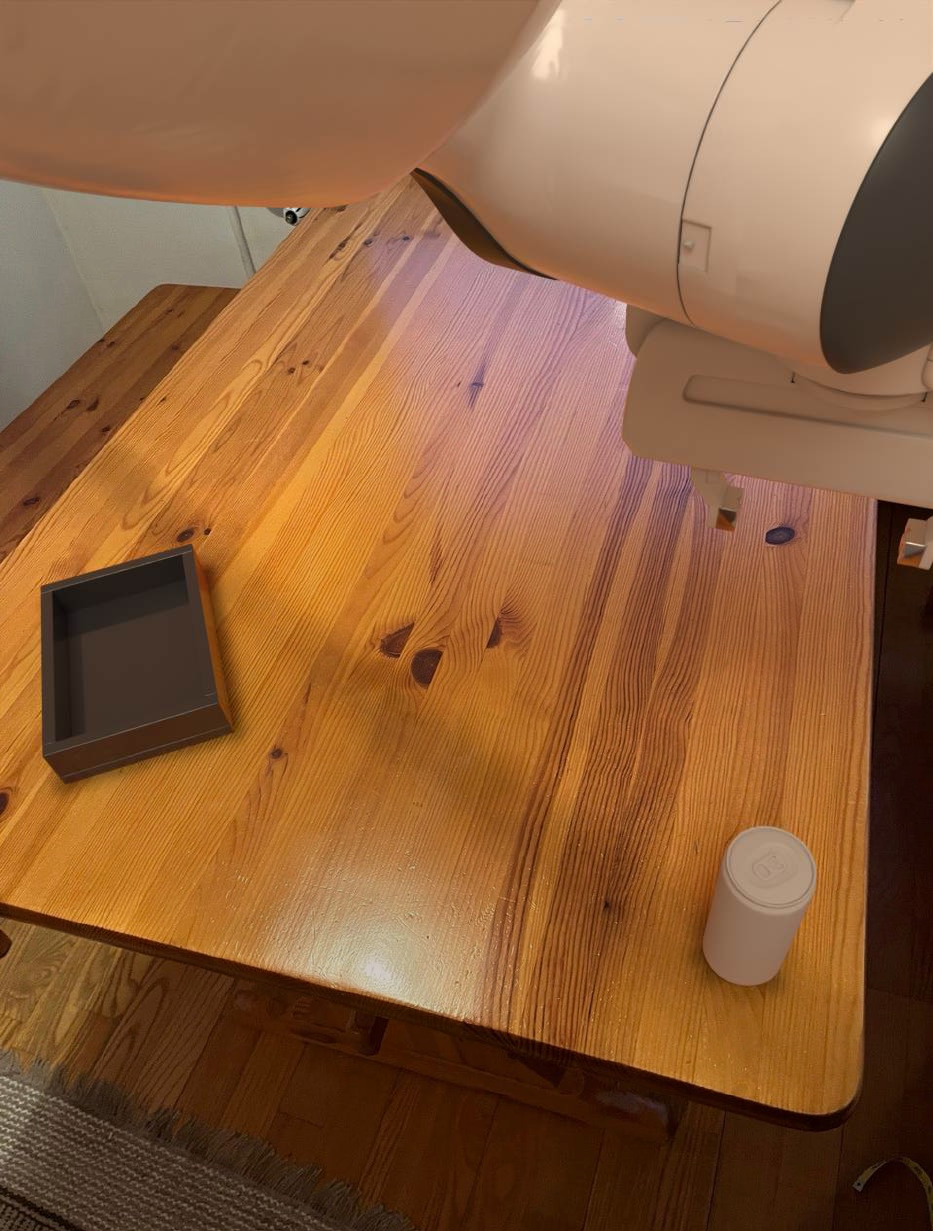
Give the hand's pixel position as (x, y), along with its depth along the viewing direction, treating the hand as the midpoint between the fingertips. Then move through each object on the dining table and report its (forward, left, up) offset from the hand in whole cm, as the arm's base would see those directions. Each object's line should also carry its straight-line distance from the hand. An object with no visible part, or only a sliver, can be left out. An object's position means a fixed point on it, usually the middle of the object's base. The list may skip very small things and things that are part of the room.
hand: (815, 539), depth 48 cm
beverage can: (-13, -2, -23) cm, 27 cm away
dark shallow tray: (-6, +48, -23) cm, 54 cm away
